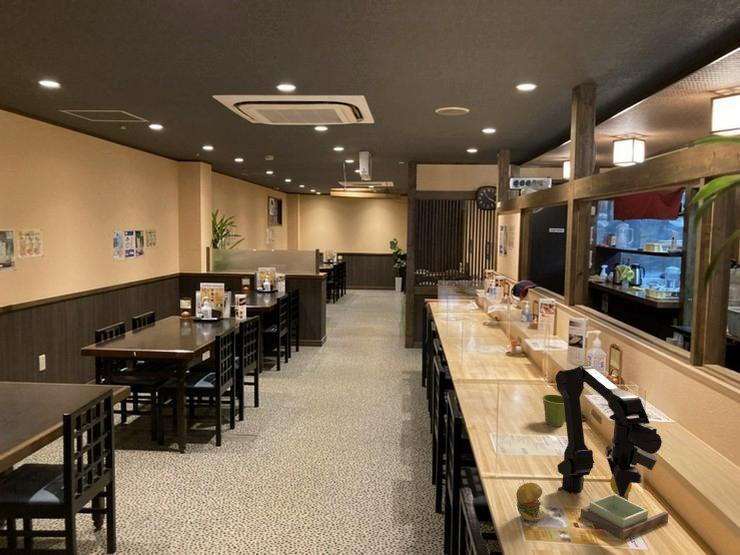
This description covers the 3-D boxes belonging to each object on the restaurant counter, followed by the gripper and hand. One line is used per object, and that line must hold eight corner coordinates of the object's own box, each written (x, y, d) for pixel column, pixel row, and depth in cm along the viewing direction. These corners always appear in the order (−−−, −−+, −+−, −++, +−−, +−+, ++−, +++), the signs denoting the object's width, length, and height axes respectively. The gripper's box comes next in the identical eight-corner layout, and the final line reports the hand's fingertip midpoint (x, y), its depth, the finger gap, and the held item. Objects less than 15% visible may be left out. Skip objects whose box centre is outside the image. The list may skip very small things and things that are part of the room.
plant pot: (536, 424, 240) (538, 399, 239) (545, 417, 250) (546, 392, 249) (564, 431, 234) (566, 405, 232) (572, 423, 243) (574, 398, 242)
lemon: (605, 493, 163) (607, 467, 162) (619, 490, 165) (621, 464, 164) (620, 503, 158) (622, 476, 157) (634, 499, 160) (637, 473, 159)
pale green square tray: (622, 535, 154) (624, 520, 154) (588, 516, 164) (590, 502, 163) (646, 525, 160) (648, 510, 160) (612, 507, 169) (613, 493, 169)
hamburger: (542, 527, 159) (544, 487, 158) (516, 524, 160) (518, 484, 159) (538, 513, 167) (541, 474, 166) (513, 510, 168) (516, 472, 167)
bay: (622, 543, 152) (623, 531, 152) (580, 519, 164) (581, 508, 164) (667, 524, 163) (668, 512, 163) (624, 502, 175) (625, 492, 174)
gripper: (664, 456, 148) (658, 512, 150) (647, 430, 166) (642, 480, 168) (618, 450, 151) (614, 505, 153) (607, 426, 169) (603, 475, 171)
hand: (619, 491), depth 161 cm, fingers closed on lemon, 5 cm apart
